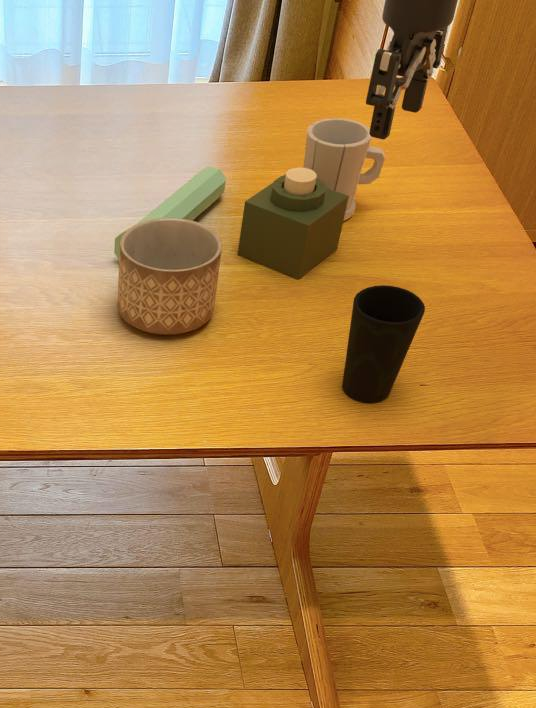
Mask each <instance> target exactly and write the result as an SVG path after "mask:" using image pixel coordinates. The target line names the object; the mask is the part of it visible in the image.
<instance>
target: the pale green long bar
mask: <svg viewBox="0 0 536 708" xmlns="http://www.w3.org/2000/svg"><path fill="white" fill-rule="evenodd" d="M226 182H227V177H226V176H225V174H224V173H223V171H222V169H219V168H215V167H211V166H206V167H205V168H203V169H202V170H201V171H199V172H198V173H197V174H196V175H194V176H193V177H191V178H190V179H189V180H188V181H187V182H186V183H184V184H183V185H182V186H181V187H180V188H178V189H177V190H176V191H174V193H172V194H171V195H170V196H169V197H168V198H167V199H165V200H164V201H163V202H161V204H159V205H158V206H157V207H156V208H154V209H153V210H151V212H149V213H148V214H147V215H146V216H145V217H144V218H142V219H141V220H140V221H139V222H137V224H139V223H141V222H144V221H148V220H152V219H159V218H180V219H187V220H191V221H194V220H195V219H197V217H198V216H200V215H201V214H202V213H203V212H204V211H205V210H206V209H208V208H209V207H210V206H211V205H212V204H214V203H215V201H217V200H218V199H220V197H221V196H222V195H224V194H225V189H226V184H227V183H226ZM129 228H130V227H129ZM129 228H127V229H125V230H123V231H122V232H121V233H120V234H118V235H117V236H116V237H114V247H113V248H114V250H113V253H114V255H115V256H116V258H117V259H118V260H119V258H120V241H121V238H122V236H123V234H124V233H125V232H126V231H127V230H128V229H129Z"/></svg>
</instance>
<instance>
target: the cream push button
mask: <svg viewBox="0 0 536 708" xmlns="http://www.w3.org/2000/svg"><path fill="white" fill-rule="evenodd" d="M285 174H286V176H285V182H284V190H285V191H286V192H289V193H291V194H295V195H306V194H311V193H313V191H314V187H315V182H316V177H317V175H316V173H315V172H314V171H313V170H310V169H307V168H303V167H293V168H290V169H288V170H287V171H286V172H285Z"/></svg>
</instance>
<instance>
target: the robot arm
mask: <svg viewBox="0 0 536 708" xmlns="http://www.w3.org/2000/svg"><path fill="white" fill-rule="evenodd" d="M458 2H459V0H384V3H383V10H382V15H381V17H382V21H383V23H384V24H385V26H387V27H389V28H390V29H391V30H392V32H393V35H392V38H391V40H390V41H389V43H388V45H387V47H386V49H383V48H379V49H377V51H376V52H375V57H374V62H373V65H372V71H371V75H370V79H369V85H368V90H367V94H366V99H365V105H367V106H371V107H373V112H372V115H371V116H372V117H371V122H370V127H369V129H370V131H369V134H370V136H371V137H372V138H375V139H379V140H383V141H384V140H386V139H387V138H389V136H390V134H391V130H392V127H393V126H392V125H393V121H394V115H395V110H396V106H397V103H398V101H399V99H400V96H401V94H402V92H403V91H404V93H403V99H402V102H401V109H402V110H403V111H405V112H410V113H414V114H416V113H418V112H419V111H420V110H422V108H423V103H424V99H425V94H426V91H427V86H428V81H429V80H430V79H431V78H432V76H433V74H434V69H439V67H440V66H441V62H442V56H443V52H444V47H445V43H446V39H447V32H448V29H449V26H450V25H451V24H452V23H453V21H454V19H455V15H456V14H455V13H456V10H457V6H458Z"/></svg>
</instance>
